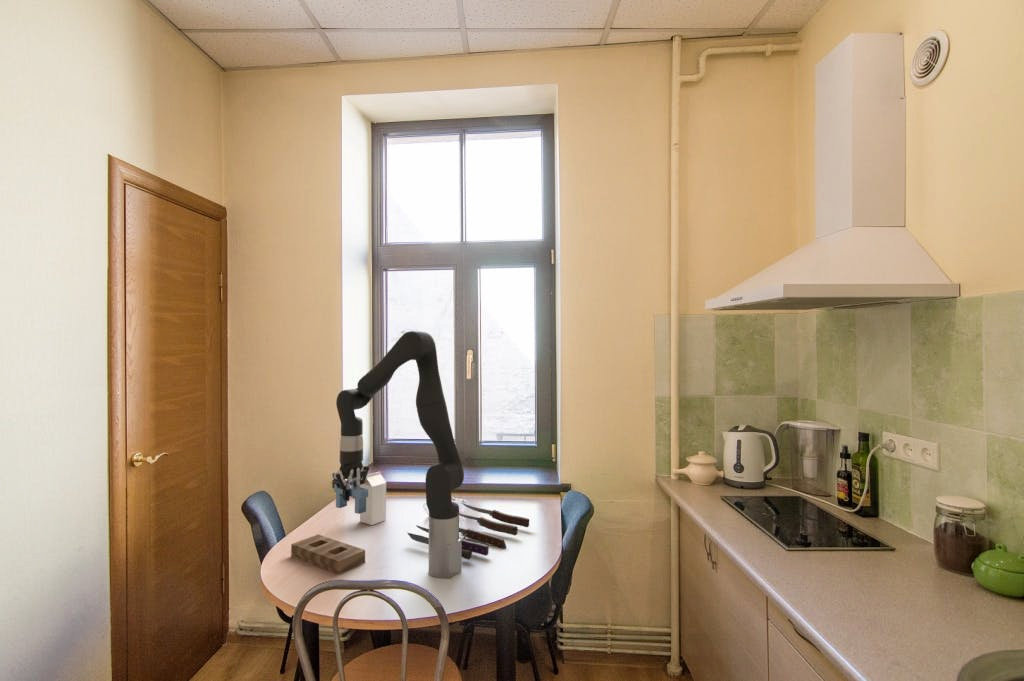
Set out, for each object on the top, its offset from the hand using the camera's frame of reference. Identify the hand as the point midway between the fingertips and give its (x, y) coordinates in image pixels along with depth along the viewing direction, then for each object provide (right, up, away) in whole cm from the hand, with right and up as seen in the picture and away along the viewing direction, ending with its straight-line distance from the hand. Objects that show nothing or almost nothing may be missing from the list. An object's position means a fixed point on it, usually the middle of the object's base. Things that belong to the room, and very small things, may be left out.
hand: (350, 499), depth 163 cm
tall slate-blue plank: (0, -3, 0) cm, 3 cm away
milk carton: (0, -18, +28) cm, 33 cm away
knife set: (+39, -18, +11) cm, 44 cm away
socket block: (-5, -17, -7) cm, 19 cm away
